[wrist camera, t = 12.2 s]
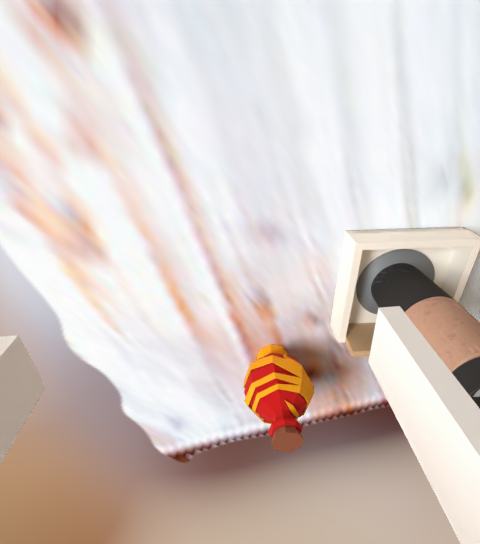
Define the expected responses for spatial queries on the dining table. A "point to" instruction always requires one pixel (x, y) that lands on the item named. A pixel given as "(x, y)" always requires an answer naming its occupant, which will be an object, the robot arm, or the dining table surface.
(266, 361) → the potion bottle
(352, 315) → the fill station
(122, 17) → the dining table surface
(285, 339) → the dining table surface
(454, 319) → the travel mug
